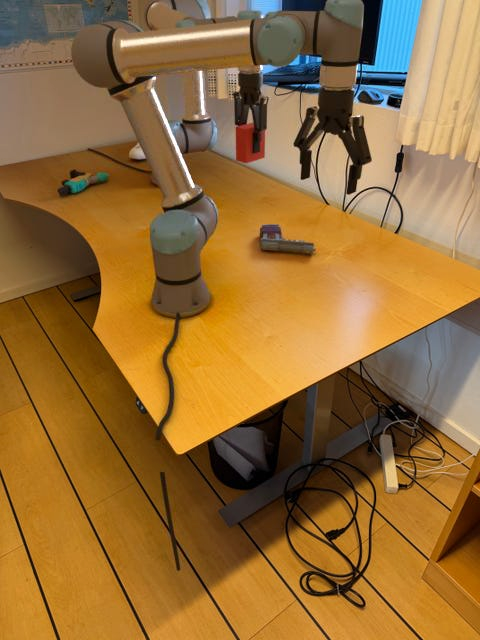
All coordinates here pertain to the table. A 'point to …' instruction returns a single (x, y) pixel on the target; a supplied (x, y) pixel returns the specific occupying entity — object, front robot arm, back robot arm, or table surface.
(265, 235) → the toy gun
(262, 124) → the back robot arm
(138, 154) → the sneaker
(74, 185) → the toy gun
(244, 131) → the block
